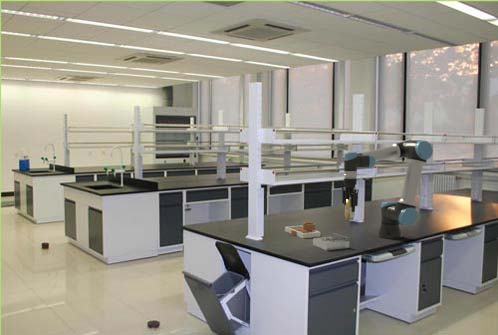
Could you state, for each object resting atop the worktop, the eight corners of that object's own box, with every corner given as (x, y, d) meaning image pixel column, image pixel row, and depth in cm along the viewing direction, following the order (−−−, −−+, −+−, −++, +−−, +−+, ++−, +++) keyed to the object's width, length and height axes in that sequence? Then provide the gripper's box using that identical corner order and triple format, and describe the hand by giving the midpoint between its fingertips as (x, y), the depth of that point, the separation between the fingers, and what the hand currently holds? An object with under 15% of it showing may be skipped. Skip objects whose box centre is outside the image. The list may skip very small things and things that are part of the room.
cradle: (301, 229, 309) (301, 225, 309) (320, 236, 288) (320, 232, 288) (284, 231, 304) (285, 226, 304) (302, 238, 283) (302, 233, 282)
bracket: (309, 231, 304) (310, 222, 304) (317, 234, 297) (318, 224, 297) (288, 233, 295) (289, 223, 295) (296, 236, 288) (296, 225, 288)
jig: (335, 242, 272) (335, 232, 272) (349, 247, 259) (349, 237, 259) (313, 244, 266) (313, 235, 265) (326, 250, 253) (326, 240, 252)
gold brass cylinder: (350, 218, 268) (350, 198, 268) (354, 219, 264) (355, 199, 264) (344, 218, 267) (344, 199, 266) (348, 220, 263) (349, 200, 262)
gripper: (336, 176, 270) (335, 214, 272) (354, 179, 254) (353, 219, 256) (346, 176, 273) (345, 213, 275) (364, 179, 257) (364, 218, 259)
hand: (349, 216), depth 265 cm, fingers closed on gold brass cylinder, 4 cm apart
